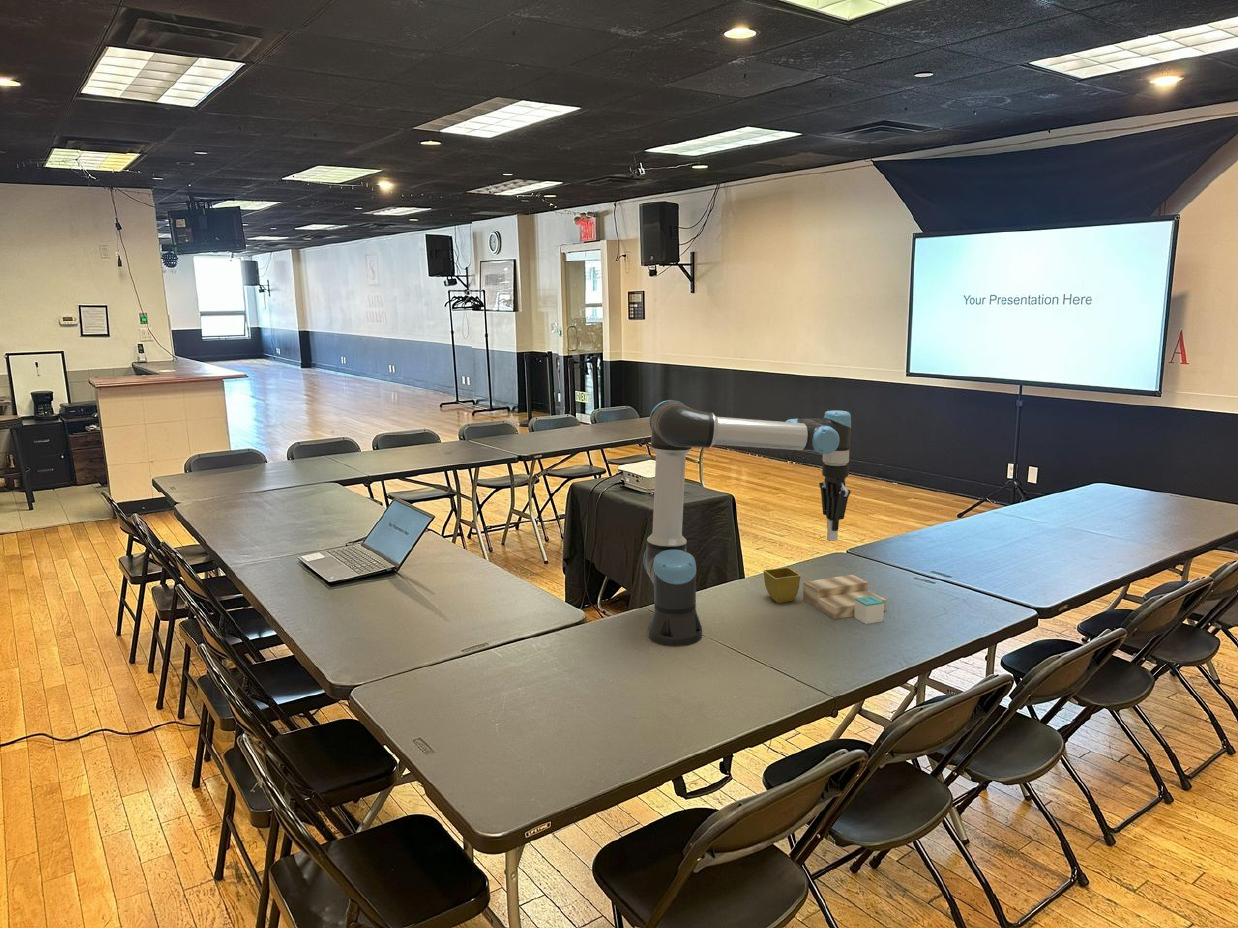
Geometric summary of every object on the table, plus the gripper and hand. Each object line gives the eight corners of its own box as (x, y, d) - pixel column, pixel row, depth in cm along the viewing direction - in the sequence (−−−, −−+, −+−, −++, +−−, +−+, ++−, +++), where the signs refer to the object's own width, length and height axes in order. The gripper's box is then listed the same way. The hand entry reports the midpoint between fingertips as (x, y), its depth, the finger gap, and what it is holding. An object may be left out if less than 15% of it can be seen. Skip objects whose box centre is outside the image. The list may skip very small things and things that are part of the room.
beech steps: (834, 619, 234) (835, 599, 233) (803, 600, 250) (803, 581, 249) (885, 610, 240) (886, 591, 239) (851, 592, 256) (852, 574, 255)
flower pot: (774, 606, 245) (775, 578, 244) (762, 596, 254) (762, 569, 252) (800, 603, 248) (801, 575, 246) (787, 593, 256) (788, 566, 254)
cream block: (855, 598, 234) (854, 617, 235) (866, 604, 229) (865, 624, 230) (872, 595, 236) (871, 614, 237) (884, 601, 231) (883, 621, 232)
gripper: (859, 466, 231) (855, 544, 235) (834, 458, 243) (830, 533, 247) (837, 468, 228) (833, 547, 233) (812, 460, 241) (809, 535, 245)
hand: (832, 540), depth 240 cm, fingers closed
